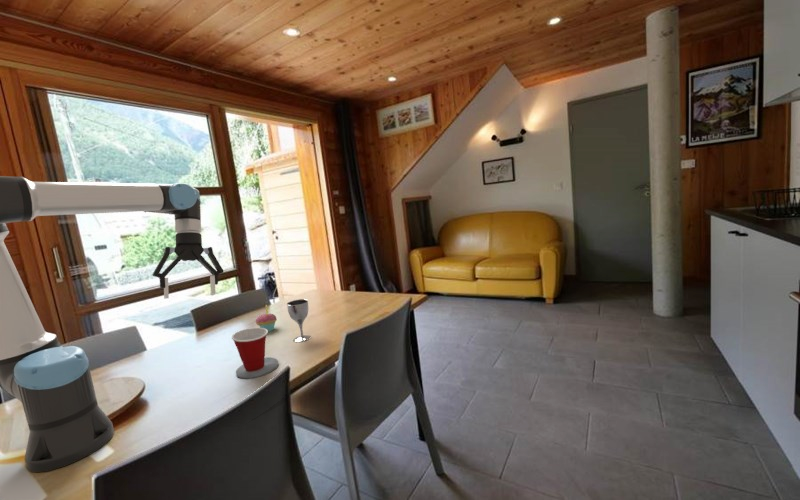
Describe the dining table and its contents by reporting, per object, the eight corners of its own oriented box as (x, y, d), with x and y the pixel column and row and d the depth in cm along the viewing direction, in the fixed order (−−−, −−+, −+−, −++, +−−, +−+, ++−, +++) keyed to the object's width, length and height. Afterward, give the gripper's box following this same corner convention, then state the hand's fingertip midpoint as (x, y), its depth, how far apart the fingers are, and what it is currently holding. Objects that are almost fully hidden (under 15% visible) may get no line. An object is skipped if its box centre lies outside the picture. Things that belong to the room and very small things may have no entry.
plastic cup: (260, 376, 107) (254, 339, 105) (230, 375, 109) (223, 339, 108) (279, 359, 118) (274, 326, 116) (251, 359, 120) (245, 326, 118)
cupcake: (282, 327, 153) (278, 301, 151) (265, 334, 146) (261, 307, 144) (269, 325, 157) (265, 299, 156) (253, 332, 150) (248, 305, 149)
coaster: (247, 383, 105) (247, 380, 105) (229, 372, 114) (229, 369, 114) (285, 365, 115) (285, 363, 115) (266, 356, 123) (266, 354, 123)
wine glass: (316, 337, 137) (311, 300, 135) (299, 344, 132) (293, 306, 129) (305, 333, 143) (301, 298, 141) (288, 340, 137) (282, 303, 135)
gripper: (224, 235, 128) (227, 293, 126) (141, 233, 111) (142, 300, 109) (231, 232, 123) (234, 292, 121) (144, 230, 106) (146, 300, 104)
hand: (190, 296), depth 115 cm, fingers open, 13 cm apart
